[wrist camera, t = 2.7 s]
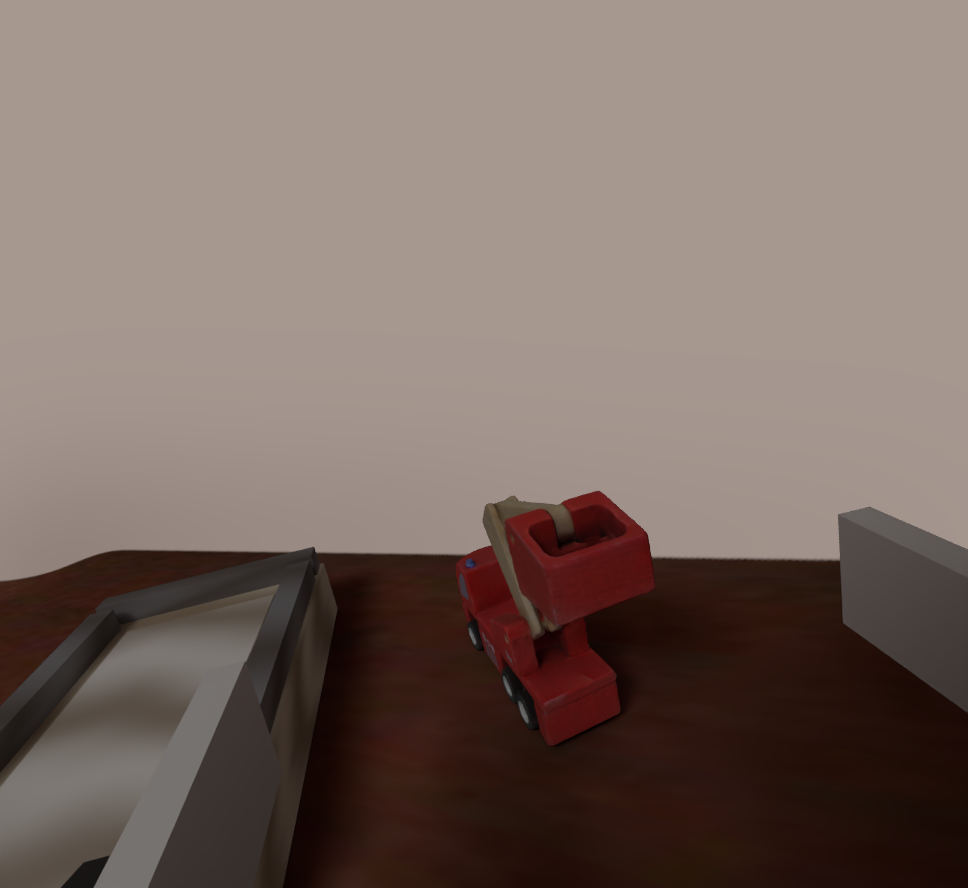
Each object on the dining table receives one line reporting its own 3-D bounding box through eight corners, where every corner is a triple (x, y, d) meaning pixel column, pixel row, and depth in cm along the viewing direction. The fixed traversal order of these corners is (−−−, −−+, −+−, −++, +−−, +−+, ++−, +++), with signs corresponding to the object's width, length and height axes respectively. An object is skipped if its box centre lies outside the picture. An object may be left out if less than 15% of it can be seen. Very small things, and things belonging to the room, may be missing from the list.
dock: (265, 976, 16) (216, 856, 15) (-208, 1120, 15) (-298, 1003, 14) (337, 608, 35) (318, 544, 34) (130, 661, 34) (103, 597, 33)
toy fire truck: (521, 606, 32) (483, 432, 29) (691, 795, 19) (650, 513, 16) (462, 629, 31) (418, 451, 28) (599, 843, 18) (540, 553, 15)
